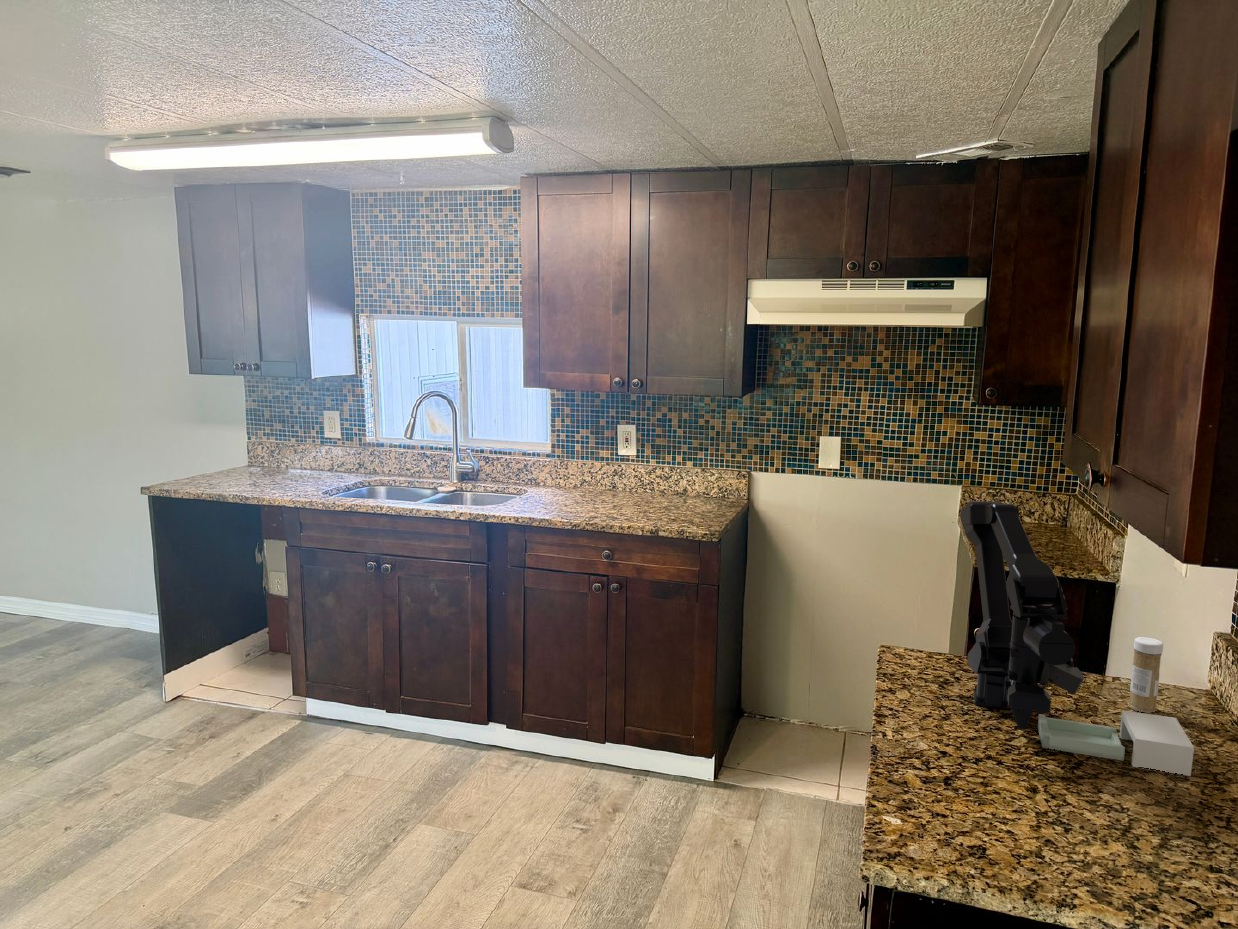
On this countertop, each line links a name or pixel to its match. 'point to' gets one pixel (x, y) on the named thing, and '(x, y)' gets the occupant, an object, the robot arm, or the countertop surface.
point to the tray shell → (1080, 738)
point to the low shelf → (1157, 742)
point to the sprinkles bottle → (1145, 674)
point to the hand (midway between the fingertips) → (1021, 729)
